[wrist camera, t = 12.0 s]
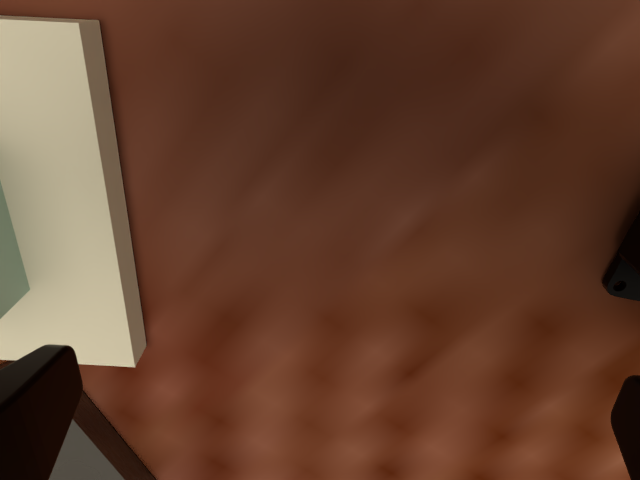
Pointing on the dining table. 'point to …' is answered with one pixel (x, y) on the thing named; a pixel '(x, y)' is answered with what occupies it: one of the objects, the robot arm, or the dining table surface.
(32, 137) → the board
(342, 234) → the dining table surface
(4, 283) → the sleeve
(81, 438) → the stand
